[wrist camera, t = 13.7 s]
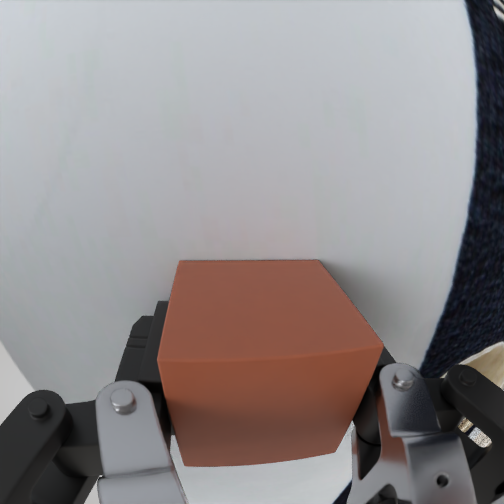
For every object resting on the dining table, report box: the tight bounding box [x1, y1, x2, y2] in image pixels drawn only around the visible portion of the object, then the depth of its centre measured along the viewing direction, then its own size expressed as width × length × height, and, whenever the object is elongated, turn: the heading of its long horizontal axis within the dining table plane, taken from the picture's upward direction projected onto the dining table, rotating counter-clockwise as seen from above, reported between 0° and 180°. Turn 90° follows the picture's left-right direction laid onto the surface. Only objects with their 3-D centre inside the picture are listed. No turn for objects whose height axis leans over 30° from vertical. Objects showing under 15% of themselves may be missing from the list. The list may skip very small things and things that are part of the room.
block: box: [157, 260, 384, 467], centre depth 8 cm, size 4×4×4 cm
